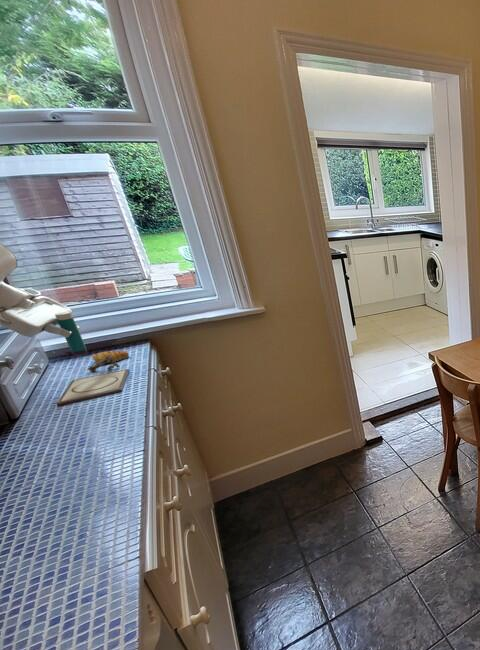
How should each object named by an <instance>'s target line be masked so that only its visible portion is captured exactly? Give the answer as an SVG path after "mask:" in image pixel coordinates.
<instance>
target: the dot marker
mask: <svg viewBox="0 0 480 650" xmlns="http://www.w3.org/2000/svg"><path fill="white" fill-rule="evenodd" d="M55 316H56V318H57V321H58V323H59V325H58V326H59V327H60V328H63V329H65V328H66V329H68V330H71V331H72V332H73V333H72V334H71V336H69V337H64V338H65V341H66V343H67V345H68V347H69V350H70V352H71V353H72V355H73V356H78V355H83V354H86V353H88V350H87V347H86V345H85V342H84V339H83V337H82V335H81V333H80V329H79V330H78V328H77V326H78V325H77V323H76V321H75V319H74V317H73V314H72V313H71V312H62V313H57V314H55ZM76 325H77V326H76Z"/></svg>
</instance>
